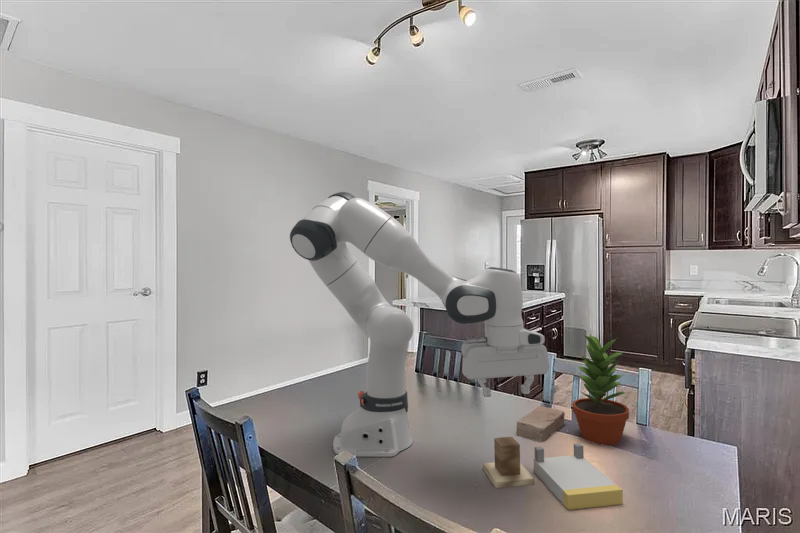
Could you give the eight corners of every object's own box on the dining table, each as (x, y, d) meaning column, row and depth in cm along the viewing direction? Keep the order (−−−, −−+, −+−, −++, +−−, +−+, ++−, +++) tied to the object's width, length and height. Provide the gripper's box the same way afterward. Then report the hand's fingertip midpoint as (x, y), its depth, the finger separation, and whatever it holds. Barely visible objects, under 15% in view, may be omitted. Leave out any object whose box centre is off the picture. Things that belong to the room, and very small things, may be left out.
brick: (542, 443, 118) (542, 426, 118) (514, 435, 124) (514, 419, 124) (565, 425, 131) (565, 410, 131) (539, 419, 136) (539, 404, 136)
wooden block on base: (495, 488, 96) (495, 451, 96) (483, 469, 105) (482, 435, 105) (533, 485, 97) (533, 447, 97) (518, 466, 106) (517, 432, 106)
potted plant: (644, 443, 116) (642, 333, 116) (598, 452, 112) (596, 338, 111) (603, 423, 130) (602, 325, 130) (561, 430, 126) (559, 329, 126)
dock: (568, 509, 87) (567, 480, 87) (533, 471, 103) (533, 446, 103) (622, 503, 89) (622, 475, 88) (580, 466, 104) (580, 442, 104)
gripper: (464, 341, 96) (467, 402, 96) (551, 336, 98) (553, 395, 99) (457, 336, 102) (459, 393, 102) (539, 331, 105) (540, 387, 105)
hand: (506, 394), depth 101 cm, fingers open, 8 cm apart
